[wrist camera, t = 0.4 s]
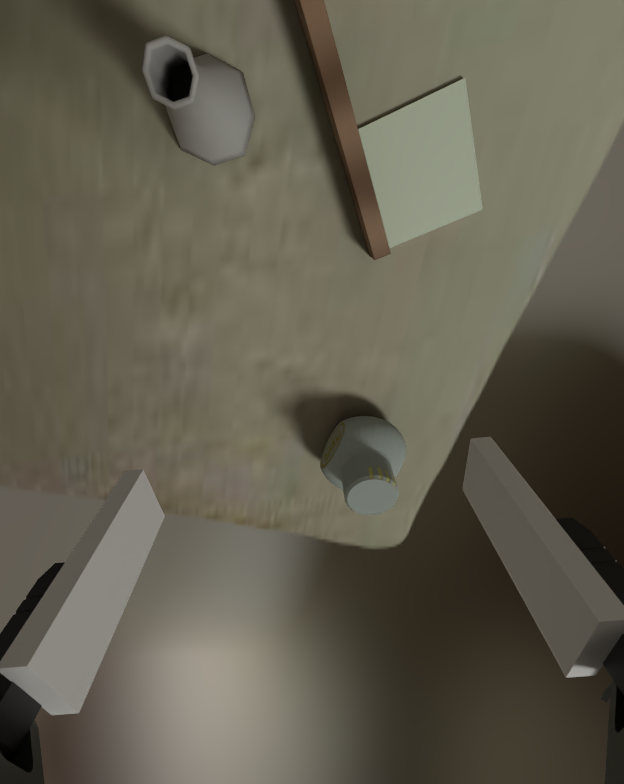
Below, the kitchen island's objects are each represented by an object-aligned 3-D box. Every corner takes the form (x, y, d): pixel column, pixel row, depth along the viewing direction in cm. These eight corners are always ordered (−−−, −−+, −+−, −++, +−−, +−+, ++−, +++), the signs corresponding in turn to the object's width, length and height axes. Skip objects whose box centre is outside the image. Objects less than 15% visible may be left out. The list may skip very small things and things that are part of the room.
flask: (160, 50, 26) (89, -27, 18) (254, 59, 27) (230, -11, 18) (172, 162, 30) (118, 144, 21) (255, 169, 30) (235, 154, 21)
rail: (244, -169, 21) (236, -220, 19) (266, -183, 21) (261, -238, 19) (369, 255, 34) (374, 260, 31) (384, 249, 34) (390, 253, 31)
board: (357, 129, 29) (358, 129, 29) (463, 78, 27) (465, 77, 27) (388, 247, 33) (389, 248, 33) (481, 209, 32) (482, 209, 32)
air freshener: (349, 397, 42) (361, 448, 33) (407, 419, 43) (433, 473, 35) (313, 460, 46) (315, 520, 38) (366, 478, 48) (380, 539, 40)
